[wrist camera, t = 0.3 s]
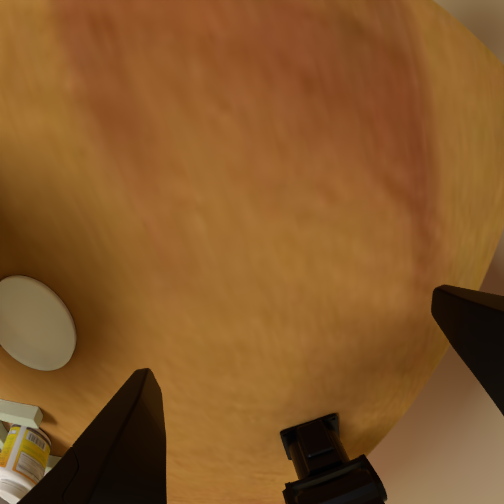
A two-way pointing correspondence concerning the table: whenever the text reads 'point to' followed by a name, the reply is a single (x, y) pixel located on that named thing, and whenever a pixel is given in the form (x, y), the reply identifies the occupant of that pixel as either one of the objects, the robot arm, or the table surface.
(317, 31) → the table surface
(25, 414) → the pale green u-shaped bracket
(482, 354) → the robot arm
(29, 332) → the coaster
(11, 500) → the supplement bottle
